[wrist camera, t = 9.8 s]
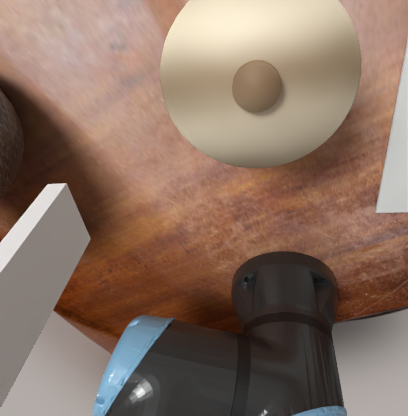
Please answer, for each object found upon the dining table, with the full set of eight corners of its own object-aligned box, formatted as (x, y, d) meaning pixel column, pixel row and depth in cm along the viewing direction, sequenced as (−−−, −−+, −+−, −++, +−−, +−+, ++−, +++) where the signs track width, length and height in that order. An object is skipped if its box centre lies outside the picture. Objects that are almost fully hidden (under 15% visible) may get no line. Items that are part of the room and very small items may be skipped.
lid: (343, 140, 26) (353, 169, 23) (186, 152, 29) (177, 179, 26) (360, -56, 19) (378, -51, 16) (151, -21, 22) (134, -11, 19)
